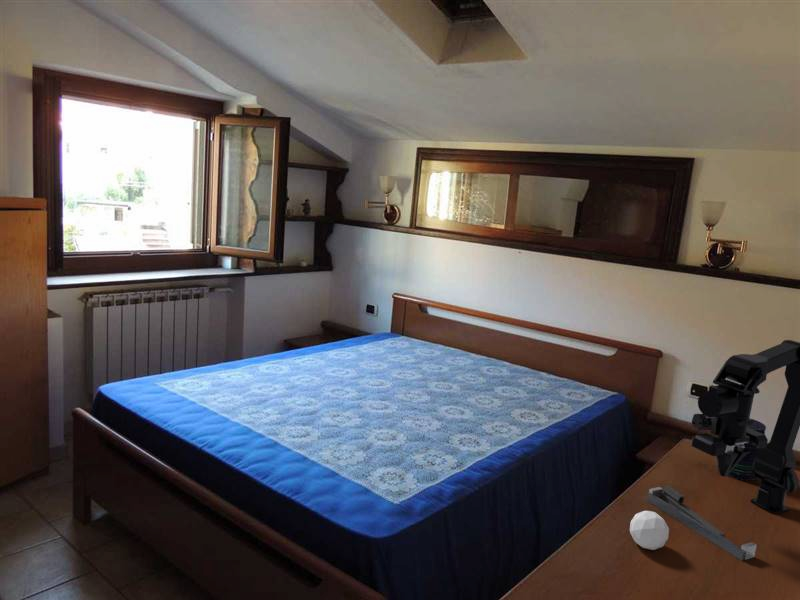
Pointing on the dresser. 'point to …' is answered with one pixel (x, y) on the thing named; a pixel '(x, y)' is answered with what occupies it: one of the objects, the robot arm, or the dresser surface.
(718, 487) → the dresser surface
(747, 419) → the robot arm
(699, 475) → the dresser surface
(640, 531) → the geometric ball
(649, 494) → the end cap rail
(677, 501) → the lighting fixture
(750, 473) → the storage jar
